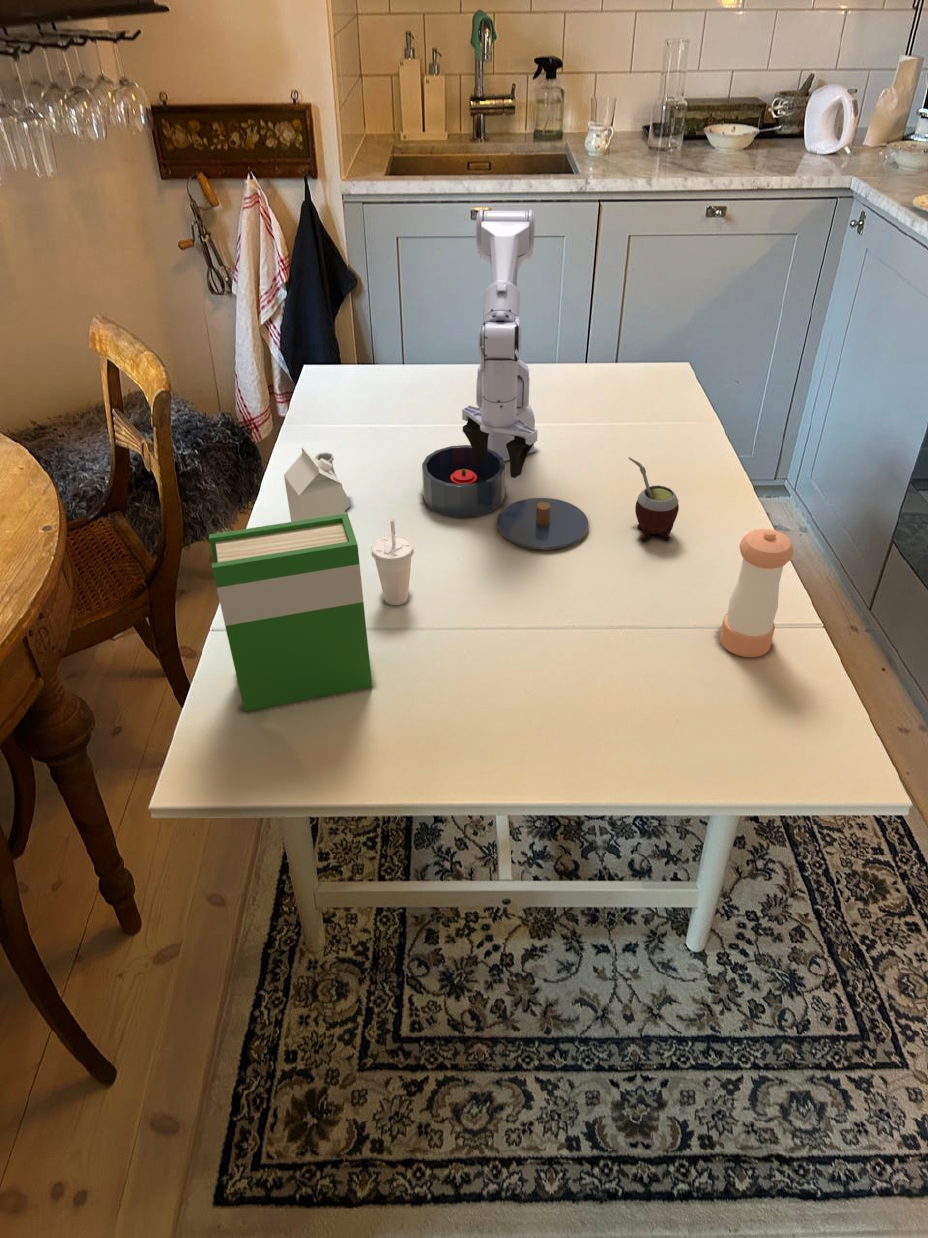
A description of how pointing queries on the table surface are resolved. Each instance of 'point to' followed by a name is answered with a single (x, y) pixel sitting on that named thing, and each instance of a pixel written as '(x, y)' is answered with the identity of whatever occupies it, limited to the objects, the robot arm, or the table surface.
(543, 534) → the lid
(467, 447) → the pot
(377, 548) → the smoothie
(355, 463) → the table surface
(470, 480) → the red pepper
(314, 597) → the hardback book
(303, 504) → the milk carton
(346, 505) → the flask
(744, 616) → the pepper shaker
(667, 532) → the mate gourd
